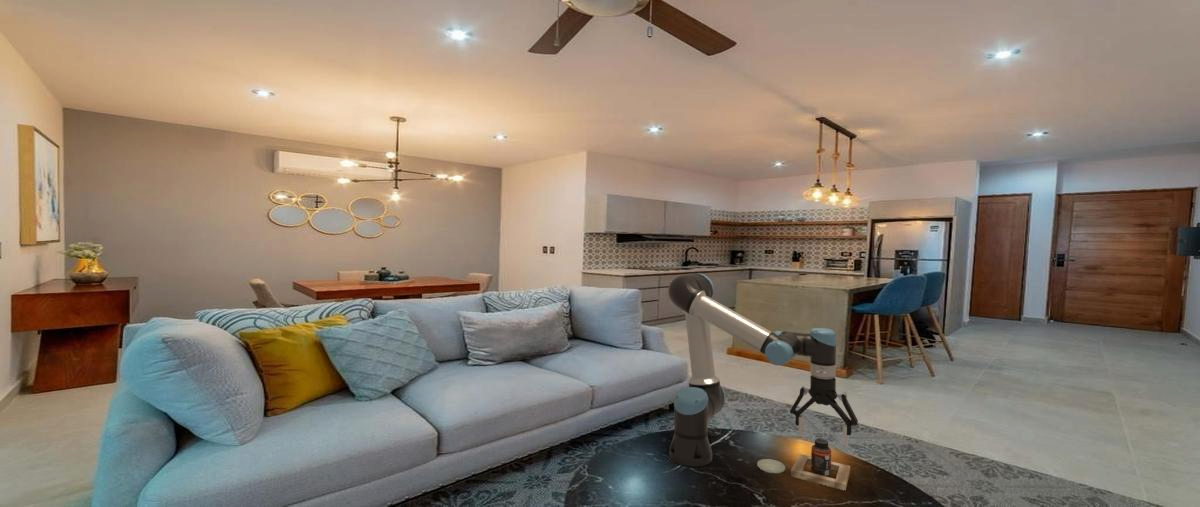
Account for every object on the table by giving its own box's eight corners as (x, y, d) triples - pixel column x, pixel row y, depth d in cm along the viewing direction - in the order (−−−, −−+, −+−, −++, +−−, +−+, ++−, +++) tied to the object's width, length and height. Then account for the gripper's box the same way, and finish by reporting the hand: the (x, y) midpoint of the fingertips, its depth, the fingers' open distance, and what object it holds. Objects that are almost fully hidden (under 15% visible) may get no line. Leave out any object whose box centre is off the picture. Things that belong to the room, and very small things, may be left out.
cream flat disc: (754, 468, 162) (754, 467, 162) (761, 458, 169) (761, 456, 169) (781, 476, 157) (781, 474, 157) (787, 465, 164) (787, 463, 164)
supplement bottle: (833, 479, 155) (833, 445, 154) (813, 477, 156) (814, 443, 155) (828, 470, 160) (828, 437, 160) (809, 468, 162) (809, 436, 161)
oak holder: (790, 476, 157) (791, 470, 157) (799, 459, 168) (799, 453, 168) (845, 490, 148) (845, 484, 148) (850, 471, 160) (850, 465, 160)
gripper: (780, 373, 160) (780, 435, 161) (865, 385, 147) (864, 452, 147) (785, 367, 167) (785, 427, 167) (867, 378, 153) (866, 443, 154)
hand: (822, 439), depth 157 cm, fingers open, 13 cm apart
